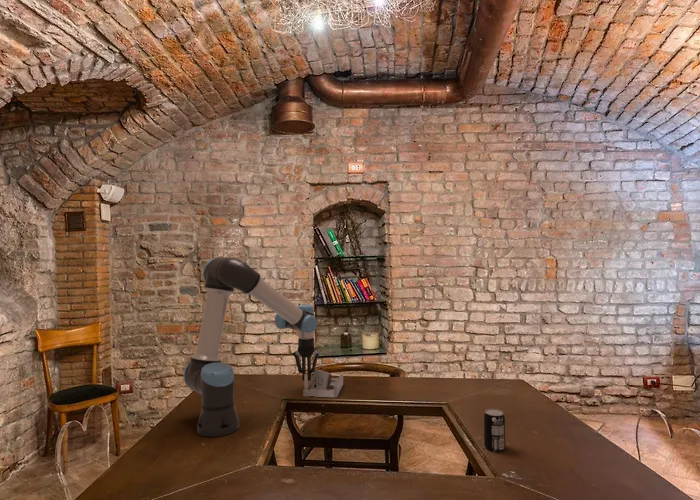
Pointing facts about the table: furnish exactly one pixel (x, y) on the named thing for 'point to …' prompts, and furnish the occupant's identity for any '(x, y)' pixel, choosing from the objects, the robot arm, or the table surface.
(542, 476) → the table surface
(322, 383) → the electrical switch
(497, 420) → the beverage can
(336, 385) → the aluminium bracket
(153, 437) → the table surface
